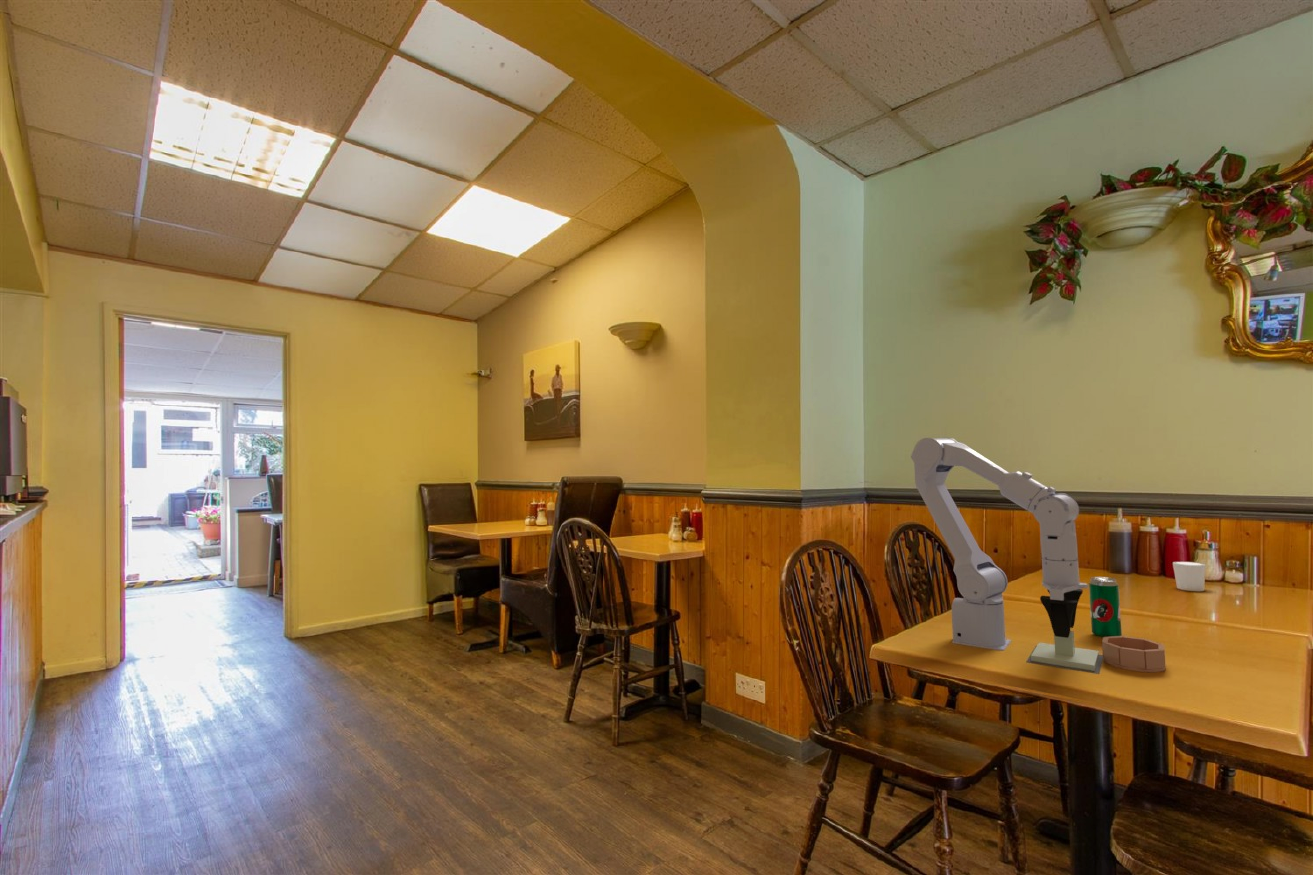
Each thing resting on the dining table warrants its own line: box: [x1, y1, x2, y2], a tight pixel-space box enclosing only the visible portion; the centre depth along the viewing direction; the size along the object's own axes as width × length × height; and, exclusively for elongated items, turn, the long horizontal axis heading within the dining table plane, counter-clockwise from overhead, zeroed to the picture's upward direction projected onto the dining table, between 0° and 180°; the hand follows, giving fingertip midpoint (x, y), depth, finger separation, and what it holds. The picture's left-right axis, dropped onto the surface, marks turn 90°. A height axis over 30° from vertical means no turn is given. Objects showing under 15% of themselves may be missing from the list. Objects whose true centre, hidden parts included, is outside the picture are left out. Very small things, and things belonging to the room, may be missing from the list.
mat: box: [1025, 645, 1104, 675], centre depth 113 cm, size 11×12×1 cm
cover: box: [1030, 630, 1100, 671], centre depth 113 cm, size 10×10×5 cm
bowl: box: [1101, 635, 1167, 673], centre depth 110 cm, size 9×9×4 cm
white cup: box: [1172, 561, 1206, 592], centre depth 166 cm, size 7×7×7 cm
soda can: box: [1088, 576, 1123, 638], centre depth 127 cm, size 5×5×12 cm
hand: (1064, 631), depth 113 cm, fingers open, 7 cm apart
